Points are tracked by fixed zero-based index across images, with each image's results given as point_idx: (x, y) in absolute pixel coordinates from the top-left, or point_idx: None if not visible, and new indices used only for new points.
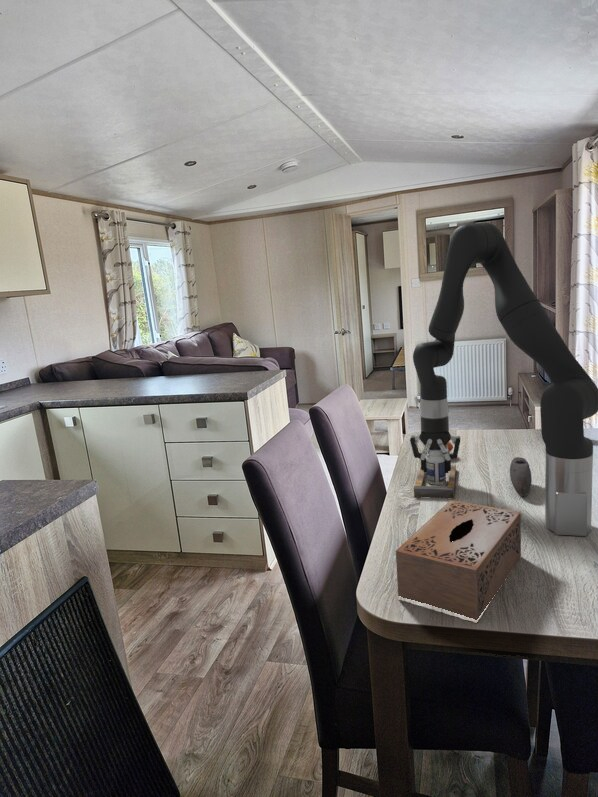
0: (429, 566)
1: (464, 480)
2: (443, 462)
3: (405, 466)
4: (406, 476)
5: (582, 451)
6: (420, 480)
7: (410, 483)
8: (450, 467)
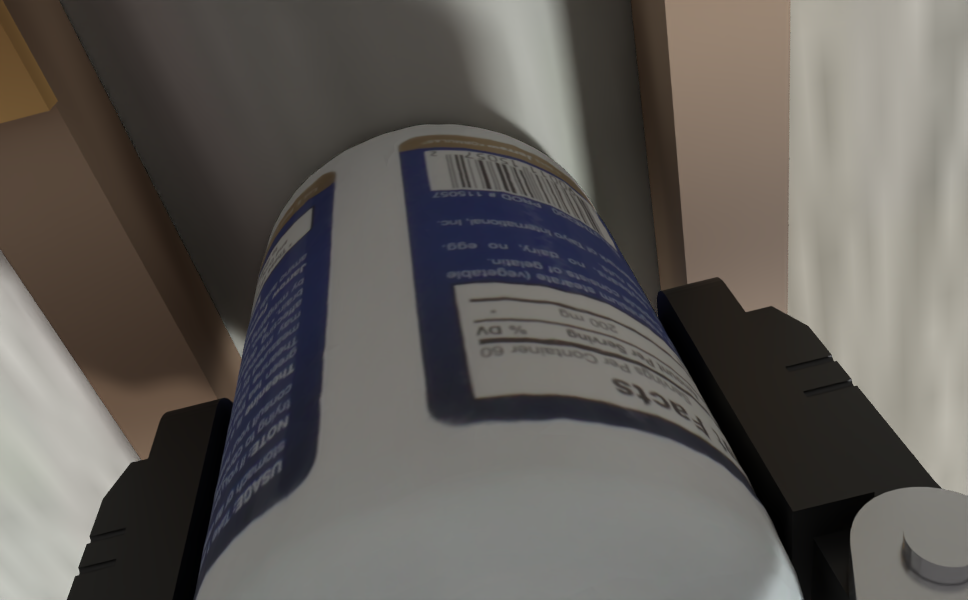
0: None
1: (37, 467)
2: (196, 589)
3: None
4: (945, 325)
5: None
6: (713, 37)
7: (876, 57)
8: (93, 540)
